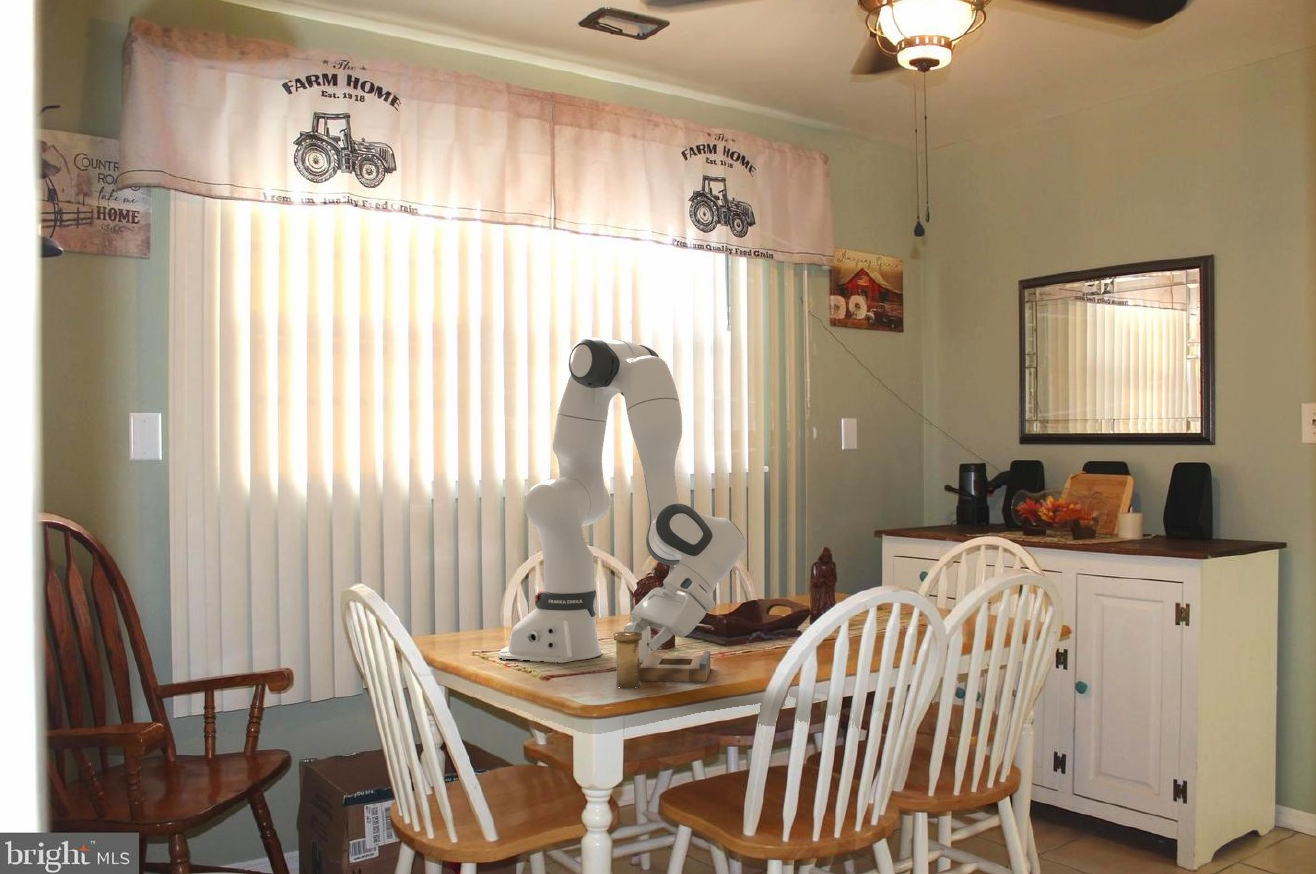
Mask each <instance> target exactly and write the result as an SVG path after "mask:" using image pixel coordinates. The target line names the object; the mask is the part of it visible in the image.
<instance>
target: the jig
mask: <svg viewBox="0 0 1316 874" xmlns="http://www.w3.org/2000/svg"><path fill="white" fill-rule="evenodd" d="M710 671H711V651H710V650H704V651H703V654H702V655H679V654H678V655H674V654H673V655H668V654H667V655H666V654H665V655H664V654H663V655H662V654H661V655H660V654H651V655H648V656H647V657H646V659H645V660H644V662H643V663H641V665H640V681H641V682H642V681H643V682H644V681H646V682H685V683H686V682H687V683H689V682H692V683H693V682H695V683H696V682H698V683H706V682H707V680H708V677H709V674H710Z"/></svg>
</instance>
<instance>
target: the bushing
mask: <svg viewBox="0 0 1316 874" xmlns="http://www.w3.org/2000/svg"><path fill="white" fill-rule="evenodd" d="M641 639H642V633H640V632H634V631H624V630H623V631H617V632H613V640H614V641H615V645H616V646H615V647H616V649H615V650H616V651H615V652H616V656H615V657H616V659H615V660H616V666H615V667H616V669H615V671H616V688H618V687H620V688H619V689H622V688H634V689H636V688H635V687H638V688H640V687H639V686H641V682H640V666H641V665H640V664H641V663H640V661H639V640H641Z"/></svg>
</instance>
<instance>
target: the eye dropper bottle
mask: <svg viewBox="0 0 1316 874" xmlns="http://www.w3.org/2000/svg"><path fill="white" fill-rule="evenodd" d="M637 605H638V604H636V605H635V606H634V608H635V607H636V606H637ZM630 613H631V622H628V623H627V624H625V625H624V627H623V631H632V629H633V626H634V624H635V622H636V620H637V619H636V618H635V617H634V616H633V614H632V613H633V610H632V611H631V612H630ZM651 638H652V635H651V627H650V626H648V627H647V628H646V629H645V630H644V629H643V631H642V639H641V640H639V661H640V664H642V663H643V662H644V660H645V659H646V657H647V656H648V655H652V651H651V650H652V649H650V648H649V647H648V646H647V642H648V641H649V640H650V639H651Z"/></svg>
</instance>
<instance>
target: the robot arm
mask: <svg viewBox="0 0 1316 874" xmlns="http://www.w3.org/2000/svg"><path fill="white" fill-rule="evenodd" d="M568 370H569V373H568V375H567V377H566V380H565V382H564V384H563V385H564V386H563V388H562V391H561V395H560V398H559V403H558V408H557V414H556V420H555V428H554V434H553V440H552V450H553V452H554V454H555V456H556V458H557V461H558V462H557V463H558V471H559V478H551V479H547V480H544V481H542V482H540V483H538V484H535V485H534V486H532V487H531V488H530V489H529V491H528V492H527V494H526V496H525V498H524V505H523V506H524V512H525V515H526V518H527V519H528V520H529V521H530V523H532V525H533V526H534V529H535V530H536V533H537V535H538V539H539V543H540V547H541V551H542V557H543V589H541V590H539V591H537V594H535V596H534V603H535V608H534V609H533V610H531V611H530V612H529V613H528V614H526V615H525V616H524V617H523V618H522V619H521V620H519V621H518V622H517V623H516V624H515V625H514V626H513V628H512V629H511V632H510V634H509V635H510V637H509V642H508V643H509V644H508V645H507V646H505V647H503V648H501V649H500V651H499V652H498V658H499V659H500V658H502V659H501V660H506V659H520V660H519V661H523V660H530V661H529V662H540V661H544V662H543V663H557V662H558V664H559V663H560V664H563V663H568V662H572V661H580V660H587V659H592V658H597V657H599V656H601V655H602V654H603V653H602V649H601V646H600V641H599V637H598V635H599V634H598V629H597V622H596V615H597V608H598V606H597V604H598V603H597V601H598V600H597V591H596V589H595V558H594V554H593V551H592V550H591V549H590V548H589V547H588V544H587V541H586V539H585V535H584V530H583V527H587V526H590V525H593V524H595V523H596V522H599V521H600V520H601V519H602V518H604V517H605V516H606V515H607V513H608V511H609V509H610V505H611V496H610V493H609V491H608V489H607V487H606V486H605V482H604V473H603V448H604V442H605V435H606V429H607V428H606V427H607V422H608V415H609V409H610V408H609V406H610V403H611V400H612V399H613V398H614V397H615V396H616V395H618V394H619V393H620V394H621V395H622V396H623V397H624V398H623V399H624V400H625V401H624V402H625V408H626V414H627V419H628V424H629V427H630V431H631V434H632V437H633V438H632V439H633V440H634V441H633V442H634V444H635V447H636V450H637V453H638V457H639V460H640V463H641V466H642V470H643V475H644V482H645V488H646V493H647V494H646V495H647V500H648V501H647V502H648V506H649V513H650V519H649V520H650V521H649V525H648V529H647V533H646V538H645V539H646V540H645V542H646V548H647V552H648V553H649V555H650V556H651V558H653V559H654V560H655V561H656V562H658V563H660V564H662V565H666V566H674V568H673V569H672V571H670V573H668V575H667V576H666V578H664V580H663V581H662V583H663V584H662V585H663V586H661V587H658V586H657V587H654V588H652V589H651V590H649V592H647V594H646V595H645V596H644V597H643V598H641V600H640V601H639V602H638V603H637V604H636V605H637V606H636V607H635V606H634V608H633V610H632V611H633V613H632V614H633V616H634V617H635V618H636V619H637V620H636V622H635V624H634V626H633V629H632V631H634V632H640V633H642V631H643V629H644V630H645V629H646V628H647V627H648V626H650V628H653V629H654V630H655V629H656V630H659V632H657V634H656V635H654V637H652V636H651V639H650V640H649V641H648V642H647V646H648V647H649V648H650V649H651V650H652V651H657V650H658V649H659V647H661V645H663V644H665V643H666V642H668V641H669V640H670V639H671V638H672V637H673V636H674V637H678V638H685V637H686V636H688V635H690V633H691V632H692V631H693V630H694V629H695V628H696V627H697V626H698V625H699V623H700V622H701V621H702V620H703V619H704V617H705V616H706V614H707V613H708V612H711V611H712V610H713V609H714V608H715V606H716V602H715V601H714V600H713V598H712V597H711V596H712V594H713V593H714V591H715V589H716V586H717V585H718V584H719V582H720V581H721V580H723V579H725V578H726V577H727V575H728V574H729V573H730V572H731V570H732V569H733V568H734V567H735V565H736V564H737V562H738V561H739V560H740V558H741V556H742V555H743V553H744V550H745V546H746V542H745V537H744V535H743V533H742V531H741V530H740V528H739V527H738V526H737V525H736V524H735V522H733V521H731V520H730V519H729V518H726V517H724V516H723V517H722V516H721V517H718V516H711V515H708V514H704V513H702V512H699V511H698V510H696V509H694V508H692V507H691V506H689V505H687V504H684V503H680V501H679V495H678V489H677V483H676V482H677V481H676V475H675V474H676V473H675V470H676V469H675V467H676V461H677V460H676V459H677V454H678V451H679V447H680V444H681V440H682V436H683V419H682V418H683V417H682V408H681V405H680V399H679V395H678V391H677V388H676V384H675V381H674V379H673V376H672V373H671V371H670V368H669V365H668V364H667V363H666V361H665V360H664V359H663V358H661V357H660V356H659V354H658V353H657V352H656V351H654V350H653V349H652V348H650V347H648V346H645V345H644V344H637V343H633V342H630V341H626V340H623V339H622V340H621V339H616V340H614V339H603V338H600V337H588V338H584V339H581V340H579V341H577V342H576V344H574V346H573V347H572V349H571V351H570V354H569V357H568Z"/></svg>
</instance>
